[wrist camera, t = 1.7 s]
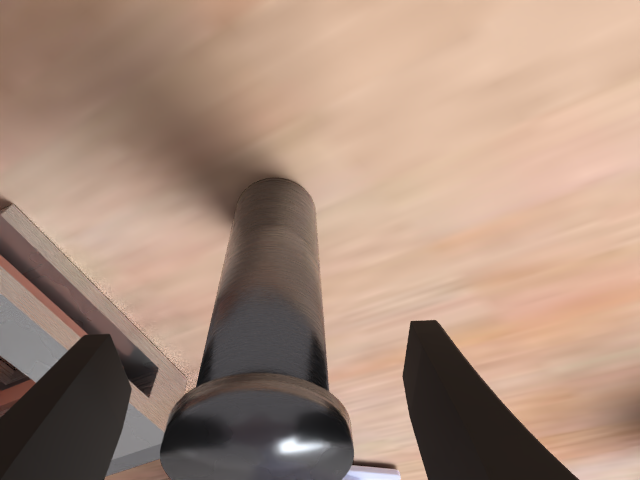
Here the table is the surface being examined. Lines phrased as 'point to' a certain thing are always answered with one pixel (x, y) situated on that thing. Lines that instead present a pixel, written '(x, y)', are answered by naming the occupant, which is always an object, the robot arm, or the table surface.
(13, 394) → the link arm
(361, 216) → the table surface
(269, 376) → the pin
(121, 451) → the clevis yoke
